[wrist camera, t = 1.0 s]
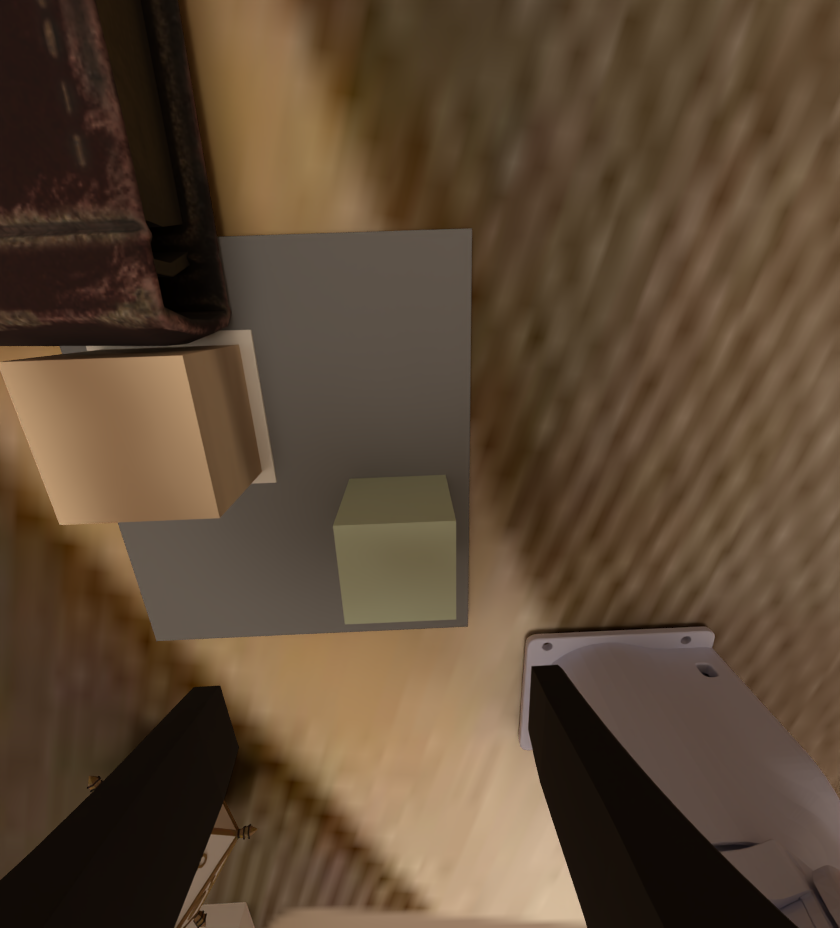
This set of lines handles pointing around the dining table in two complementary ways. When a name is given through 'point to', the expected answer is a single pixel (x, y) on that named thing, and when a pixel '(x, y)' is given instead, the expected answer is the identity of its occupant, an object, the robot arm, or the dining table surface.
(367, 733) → the dining table surface
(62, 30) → the diary
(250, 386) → the mat
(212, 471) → the beech block
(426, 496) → the sage cube
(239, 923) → the milk
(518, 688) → the dining table surface
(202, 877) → the game die
